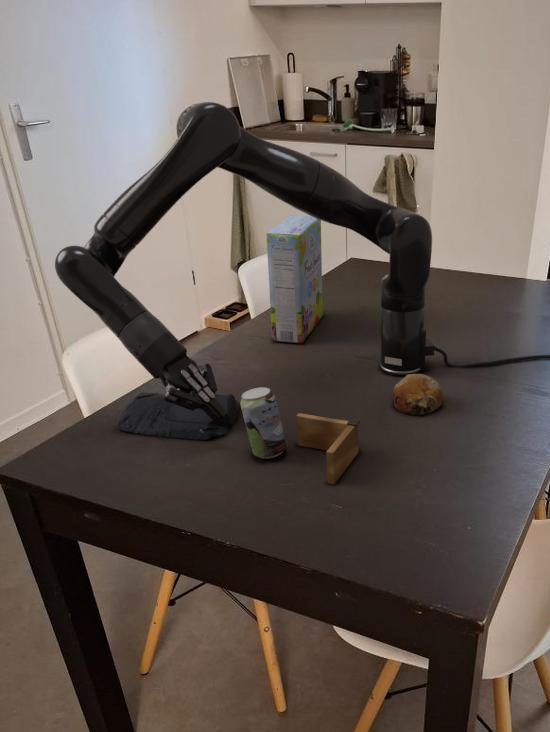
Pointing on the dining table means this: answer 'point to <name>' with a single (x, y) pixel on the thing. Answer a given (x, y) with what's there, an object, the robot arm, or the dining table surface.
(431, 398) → the bread roll
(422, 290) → the robot arm
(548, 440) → the dining table surface
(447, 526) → the dining table surface
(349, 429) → the shelf corner
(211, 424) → the grommeted fabric pouch
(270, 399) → the beverage can
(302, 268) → the snack box
